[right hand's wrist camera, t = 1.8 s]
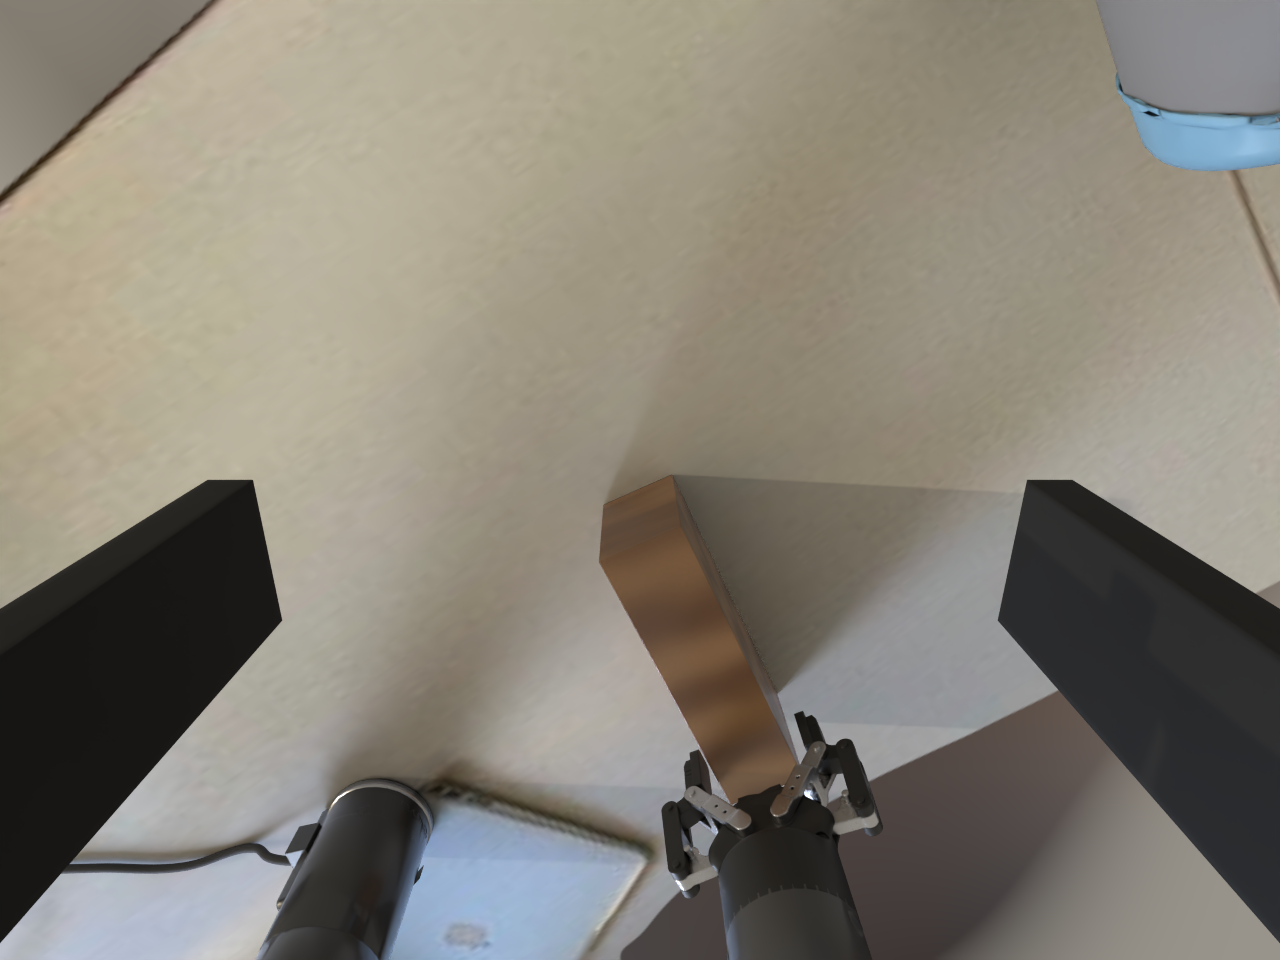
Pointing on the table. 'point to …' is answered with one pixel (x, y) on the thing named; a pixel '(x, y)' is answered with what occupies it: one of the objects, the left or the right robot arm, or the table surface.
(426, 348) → the table surface
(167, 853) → the table surface
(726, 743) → the box
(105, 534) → the table surface
